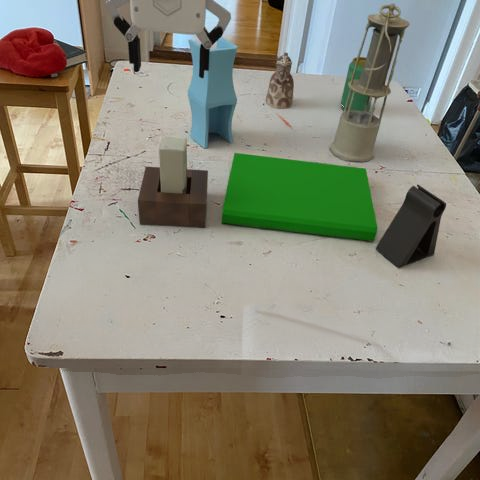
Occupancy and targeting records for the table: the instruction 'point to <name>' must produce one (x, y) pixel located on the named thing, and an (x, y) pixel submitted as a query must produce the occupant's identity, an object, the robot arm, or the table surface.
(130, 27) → the robot arm
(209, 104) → the vase
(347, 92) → the beverage can
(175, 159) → the box
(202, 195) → the brown frame
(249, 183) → the book
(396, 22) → the lamp
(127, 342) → the table surface
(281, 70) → the figurine
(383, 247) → the phone stand
